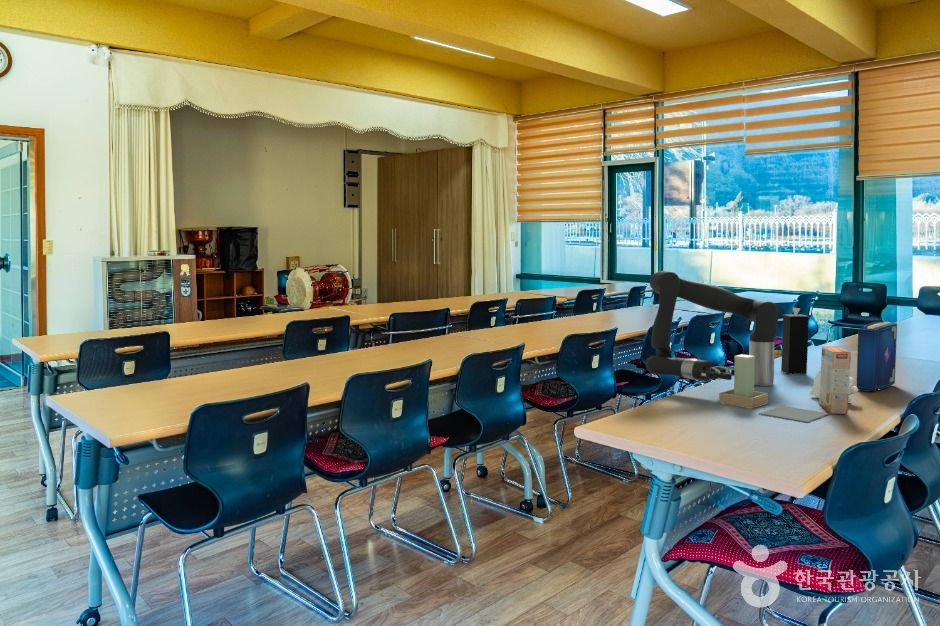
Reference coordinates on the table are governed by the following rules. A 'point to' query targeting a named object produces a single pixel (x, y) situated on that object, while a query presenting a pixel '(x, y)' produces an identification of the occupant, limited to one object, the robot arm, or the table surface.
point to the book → (876, 356)
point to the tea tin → (744, 375)
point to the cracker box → (835, 379)
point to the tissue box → (795, 343)
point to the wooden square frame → (743, 399)
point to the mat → (794, 414)
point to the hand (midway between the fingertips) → (737, 375)
